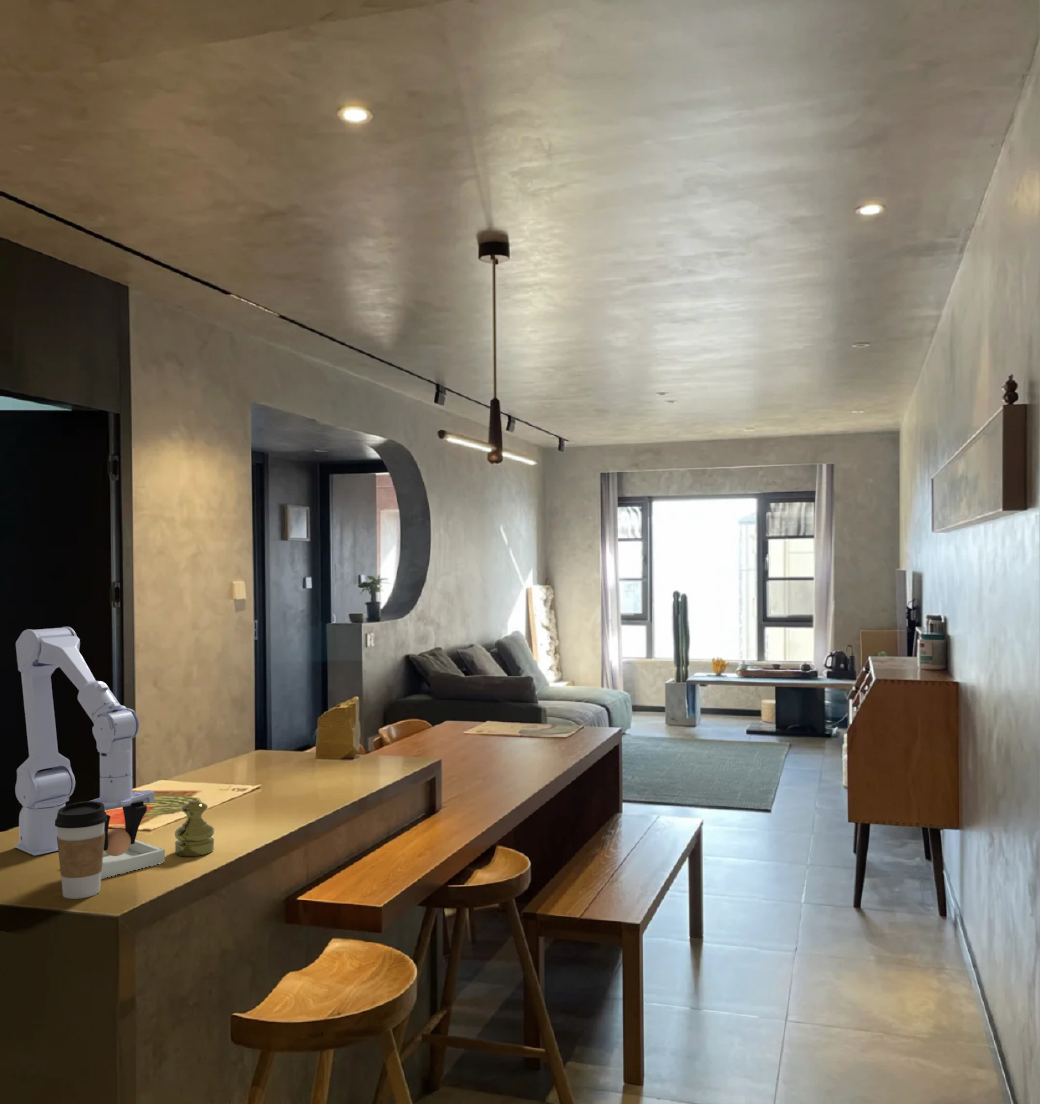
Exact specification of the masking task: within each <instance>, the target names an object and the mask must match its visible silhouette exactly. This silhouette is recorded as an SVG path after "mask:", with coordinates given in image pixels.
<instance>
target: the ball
mask: <svg viewBox="0 0 1040 1104" xmlns="http://www.w3.org/2000/svg"><path fill="white" fill-rule="evenodd" d="M130 844H131V838H130V836H129V834H128V833H127V832H126V831H125V829H123V828H113V829H111V830H108V849H107V850H105V852H106V853H107V854H109V855H111V856H119V855H122V854H124V853H125V852H126V851H127V850H128V849H129V847H130Z"/></svg>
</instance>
